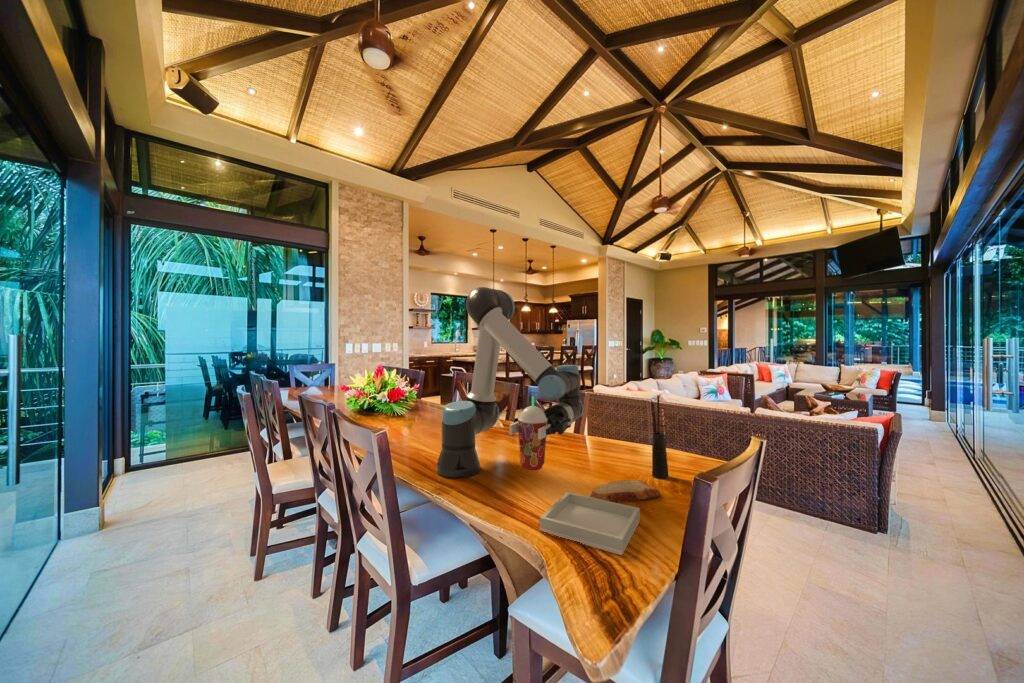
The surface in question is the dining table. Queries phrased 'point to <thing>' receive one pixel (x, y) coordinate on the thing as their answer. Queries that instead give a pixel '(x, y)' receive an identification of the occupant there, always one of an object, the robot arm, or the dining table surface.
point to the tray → (592, 522)
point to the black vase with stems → (659, 453)
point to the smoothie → (531, 437)
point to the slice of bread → (625, 491)
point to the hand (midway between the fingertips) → (524, 432)
